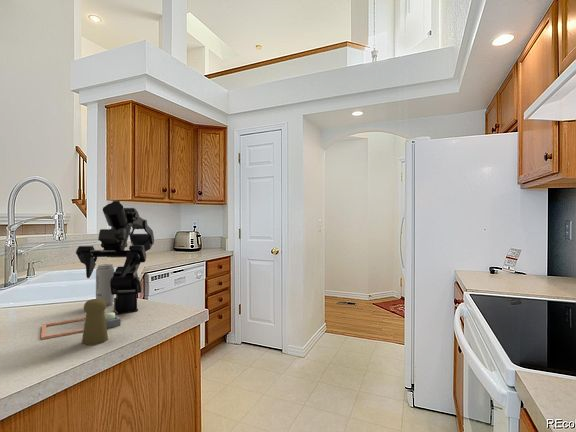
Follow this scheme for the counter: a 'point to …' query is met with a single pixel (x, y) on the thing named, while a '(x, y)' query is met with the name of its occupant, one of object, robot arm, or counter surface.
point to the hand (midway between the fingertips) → (104, 277)
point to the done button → (109, 316)
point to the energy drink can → (104, 283)
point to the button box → (113, 322)
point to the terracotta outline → (44, 336)
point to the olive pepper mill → (95, 322)
